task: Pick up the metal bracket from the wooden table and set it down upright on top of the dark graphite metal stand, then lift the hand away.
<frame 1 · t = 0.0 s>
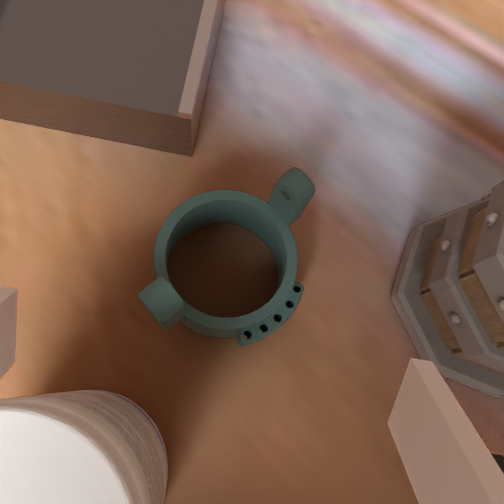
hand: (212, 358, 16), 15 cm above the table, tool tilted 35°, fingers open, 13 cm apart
bracket: (226, 281, 33), on the table
supplement tub: (88, 474, 29), on the table
stand: (115, 60, 36), on the table
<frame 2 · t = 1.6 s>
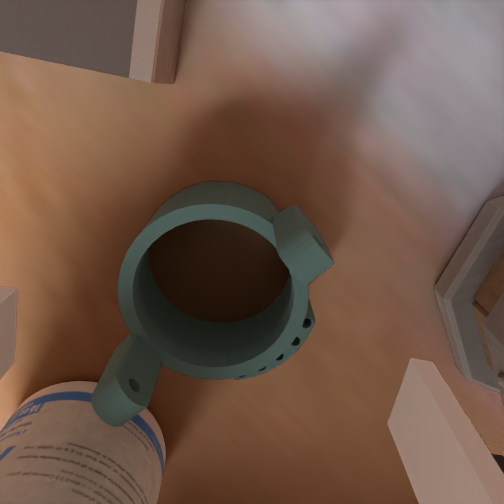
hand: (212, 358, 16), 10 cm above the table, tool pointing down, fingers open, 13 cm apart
bracket: (225, 262, 26), on the table
supplement tub: (92, 439, 30), on the table
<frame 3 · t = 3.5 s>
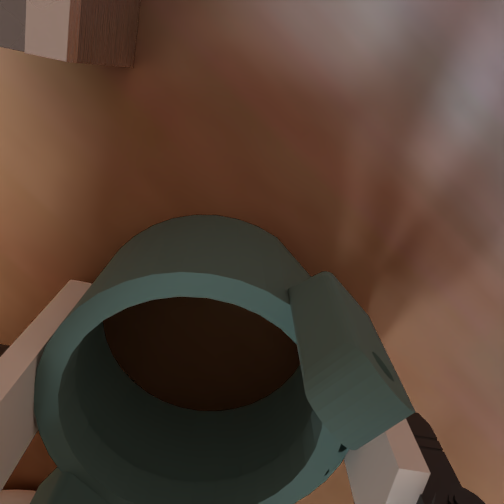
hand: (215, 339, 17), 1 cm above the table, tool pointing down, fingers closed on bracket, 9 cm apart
bracket: (215, 329, 18), on the table, touching gripper
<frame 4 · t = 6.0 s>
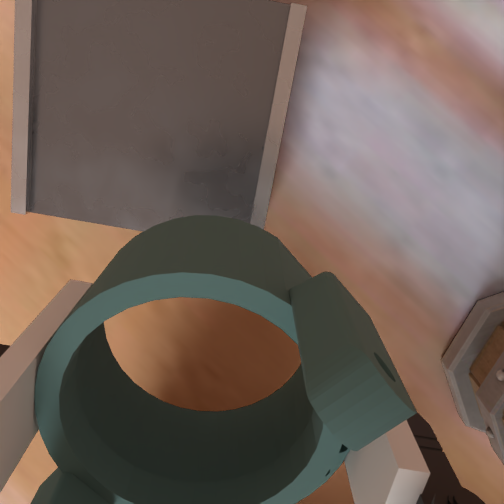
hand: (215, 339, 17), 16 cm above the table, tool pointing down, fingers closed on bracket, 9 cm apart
bracket: (216, 330, 18), point 16 cm above the table, touching gripper
stand: (167, 111, 30), on the table
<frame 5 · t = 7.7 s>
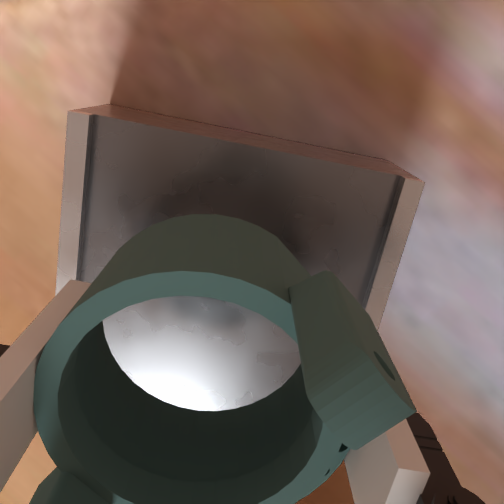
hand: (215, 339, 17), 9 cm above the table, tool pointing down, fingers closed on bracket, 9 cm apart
bracket: (215, 329, 18), point 9 cm above the table, touching gripper
stand: (227, 254, 26), on the table
when the fingers open (7 cm above the table, at t = 9.0 s): bracket drops 1 cm, resting on stand.
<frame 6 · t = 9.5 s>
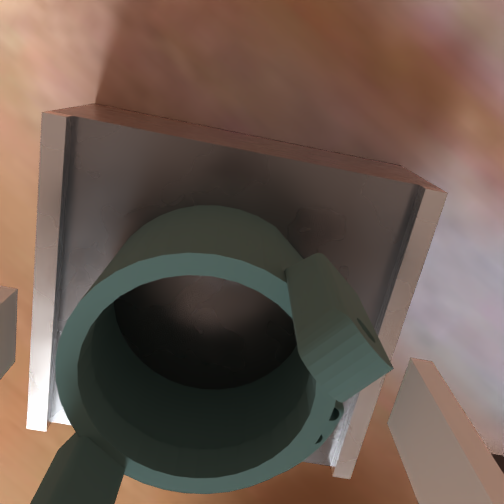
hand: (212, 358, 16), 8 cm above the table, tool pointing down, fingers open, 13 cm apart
bracket: (218, 312, 19), point 5 cm above the table, touching stand
stand: (225, 267, 24), on the table
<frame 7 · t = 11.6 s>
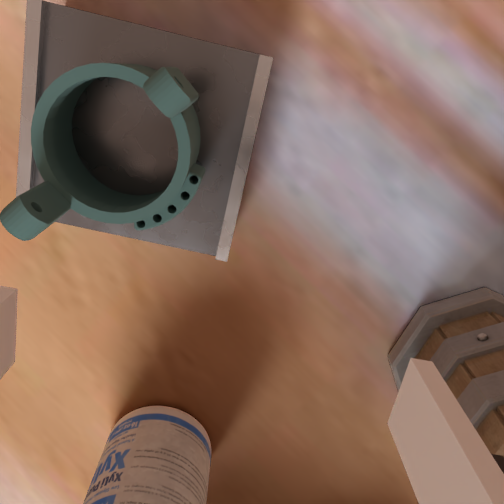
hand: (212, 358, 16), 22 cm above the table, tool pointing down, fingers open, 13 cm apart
bracket: (139, 140, 30), point 5 cm above the table, touching stand
supplement tub: (162, 441, 45), on the table
stand: (154, 130, 35), on the table
tankard: (472, 389, 43), on the table
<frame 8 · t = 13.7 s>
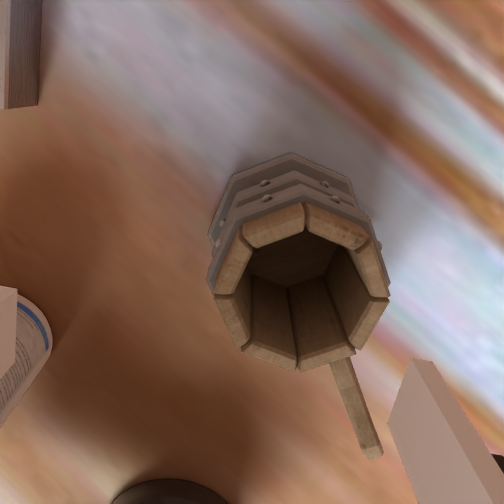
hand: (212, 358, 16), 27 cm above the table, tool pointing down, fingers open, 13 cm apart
supplement tub: (7, 331, 46), on the table
tankard: (300, 265, 44), on the table
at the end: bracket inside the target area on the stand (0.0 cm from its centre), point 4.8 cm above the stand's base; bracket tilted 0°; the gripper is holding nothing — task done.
